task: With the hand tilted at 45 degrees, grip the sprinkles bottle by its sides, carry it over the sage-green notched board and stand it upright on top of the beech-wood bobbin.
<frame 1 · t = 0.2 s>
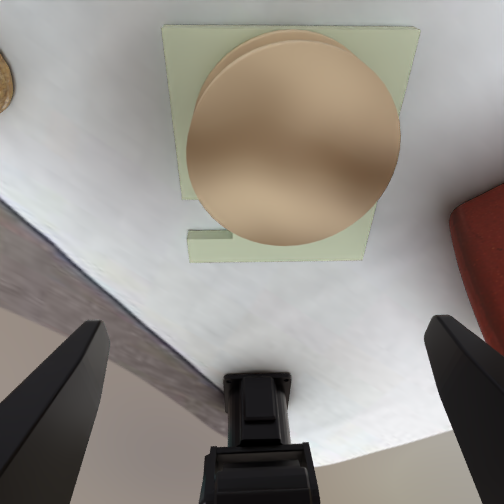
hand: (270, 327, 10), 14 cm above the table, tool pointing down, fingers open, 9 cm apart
bobbin: (285, 135, 20), resting on notched board
notched board: (281, 161, 22), on the table
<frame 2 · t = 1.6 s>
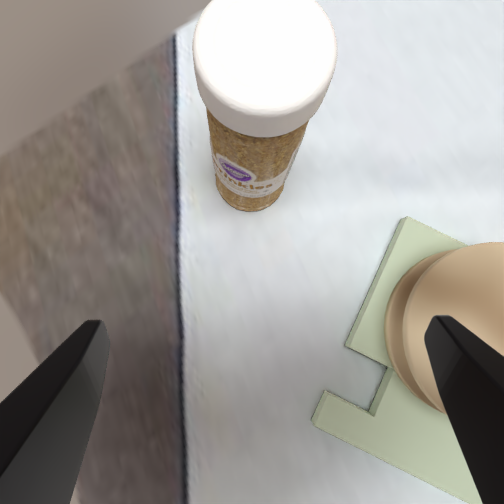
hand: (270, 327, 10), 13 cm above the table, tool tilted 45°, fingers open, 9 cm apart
bobbin: (464, 331, 23), resting on notched board
notched board: (443, 358, 24), on the table
sprinkles bottle: (250, 180, 25), on the table
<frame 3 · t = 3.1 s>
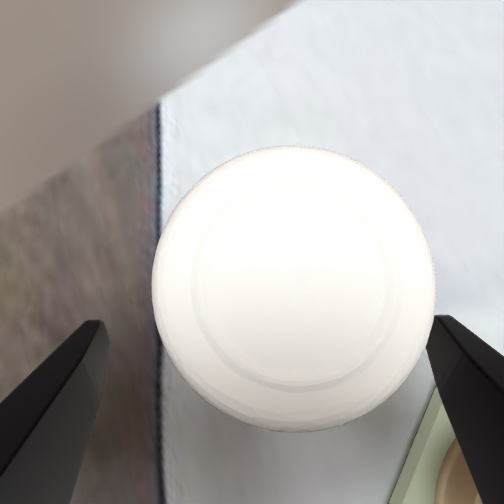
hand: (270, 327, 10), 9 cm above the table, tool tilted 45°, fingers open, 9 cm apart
sprinkles bottle: (255, 295, 19), on the table
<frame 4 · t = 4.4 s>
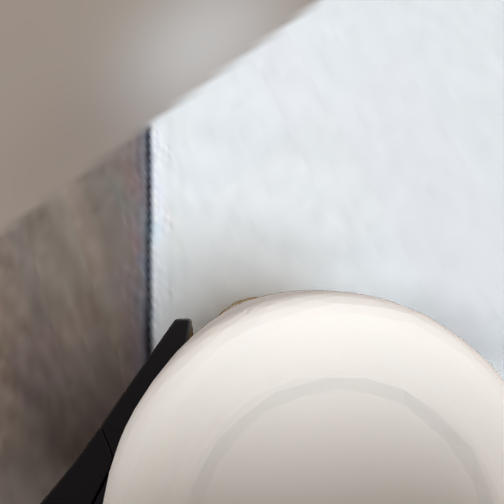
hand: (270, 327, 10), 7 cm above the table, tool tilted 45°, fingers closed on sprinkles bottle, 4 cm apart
sprinkles bottle: (258, 347, 17), on the table, touching gripper
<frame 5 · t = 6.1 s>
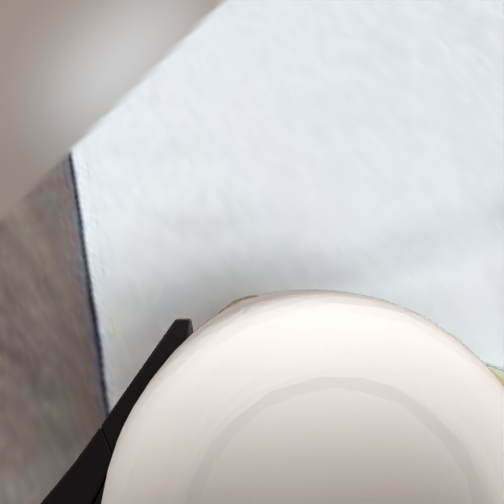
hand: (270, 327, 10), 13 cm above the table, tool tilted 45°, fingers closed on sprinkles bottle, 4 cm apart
sprinkles bottle: (258, 344, 17), point 6 cm above the table, touching gripper
when the fingers open (12 cm above the table, at t = 7.5 s): sprinkles bottle stays where it is, resting on bobbin.
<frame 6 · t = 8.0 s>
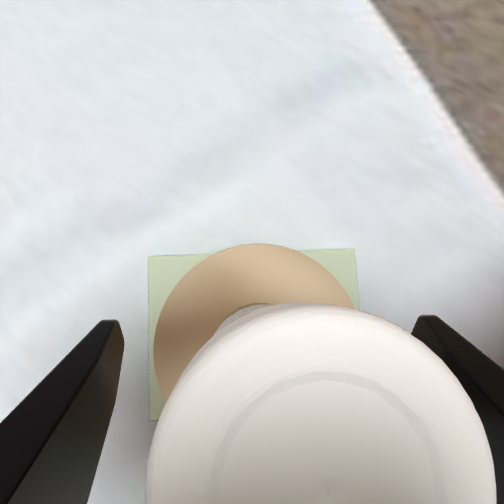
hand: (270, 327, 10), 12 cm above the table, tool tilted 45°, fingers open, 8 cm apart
bobbin: (256, 340, 21), resting on notched board
notched board: (256, 373, 22), on the table
sprinkles bottle: (260, 349, 18), point 4 cm above the table, touching bobbin
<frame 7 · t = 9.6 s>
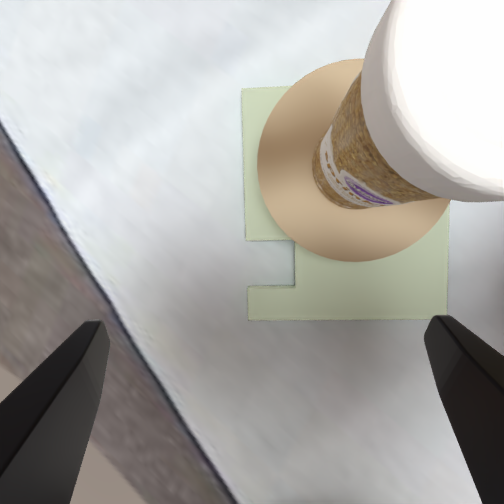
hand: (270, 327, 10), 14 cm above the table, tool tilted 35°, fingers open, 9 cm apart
bobbin: (345, 170, 22), resting on notched board
notched board: (342, 205, 23), on the table
sprinkles bottle: (356, 165, 19), point 4 cm above the table, touching bobbin
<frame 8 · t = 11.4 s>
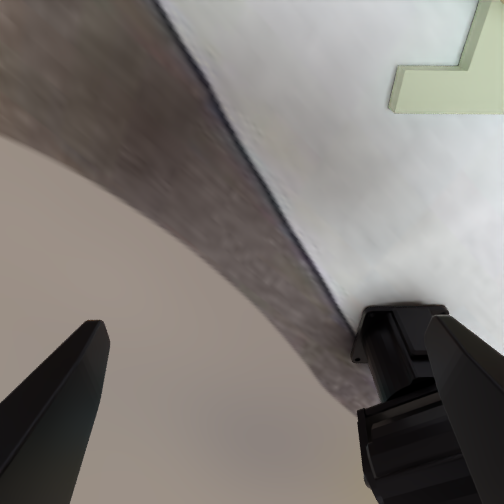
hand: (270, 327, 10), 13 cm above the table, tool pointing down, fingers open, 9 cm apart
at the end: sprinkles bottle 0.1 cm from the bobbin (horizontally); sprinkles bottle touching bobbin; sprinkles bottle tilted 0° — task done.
